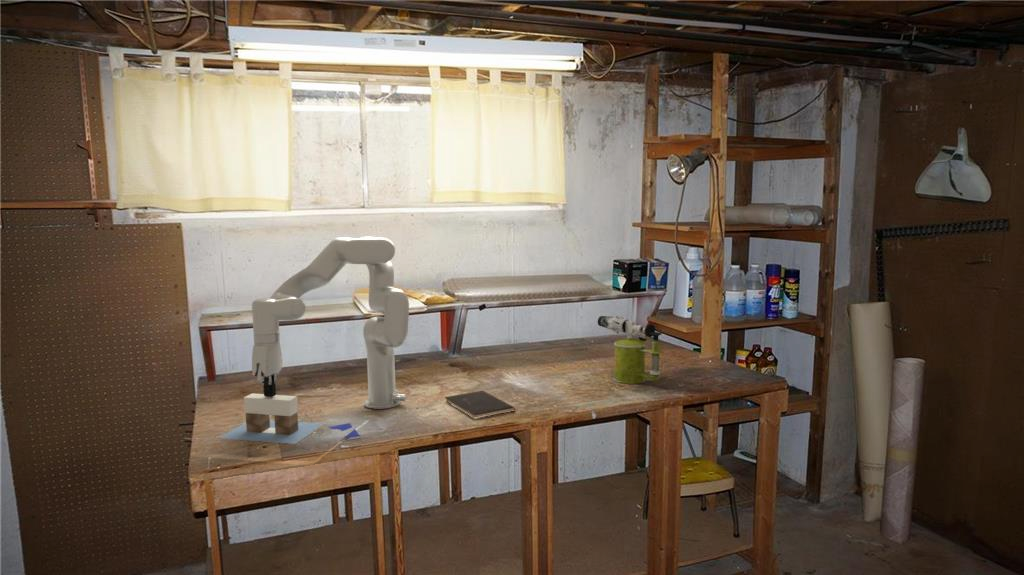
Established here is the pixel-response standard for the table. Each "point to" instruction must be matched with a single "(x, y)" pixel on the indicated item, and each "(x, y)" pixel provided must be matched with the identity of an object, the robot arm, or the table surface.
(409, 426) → the table surface
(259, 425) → the post
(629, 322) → the blowtorch
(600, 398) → the table surface
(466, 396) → the hardcover book
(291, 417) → the post
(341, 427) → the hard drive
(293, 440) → the board
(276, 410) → the beam
